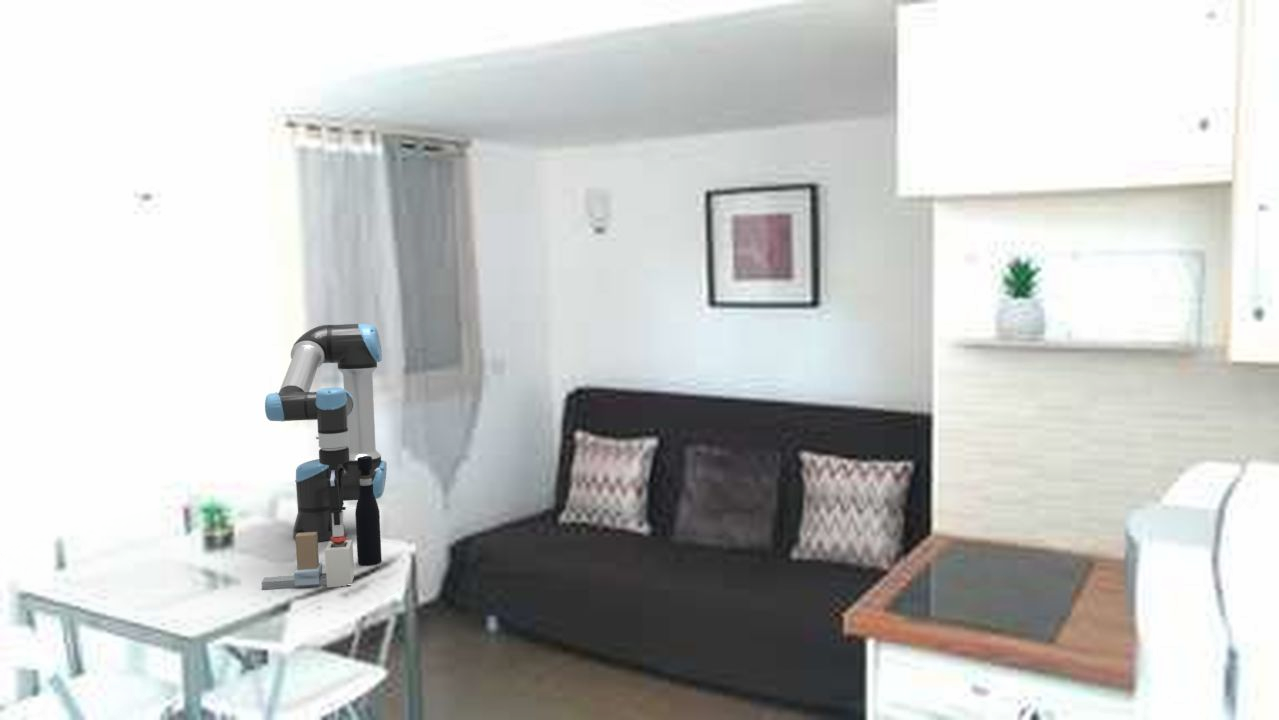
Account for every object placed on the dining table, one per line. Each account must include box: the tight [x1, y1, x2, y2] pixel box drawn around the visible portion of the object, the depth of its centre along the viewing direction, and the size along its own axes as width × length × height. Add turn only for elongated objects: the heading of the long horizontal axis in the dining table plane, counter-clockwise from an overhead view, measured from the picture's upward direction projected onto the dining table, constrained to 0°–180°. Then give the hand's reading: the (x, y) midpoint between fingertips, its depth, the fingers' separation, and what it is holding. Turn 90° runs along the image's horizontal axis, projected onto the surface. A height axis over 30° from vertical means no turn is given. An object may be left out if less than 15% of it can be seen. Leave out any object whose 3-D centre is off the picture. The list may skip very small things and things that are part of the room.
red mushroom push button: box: [330, 534, 348, 547], centre depth 259 cm, size 4×4×7 cm
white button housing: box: [324, 539, 355, 589], centre depth 259 cm, size 8×6×10 cm
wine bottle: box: [354, 456, 383, 567], centre depth 274 cm, size 6×6×30 cm
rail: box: [261, 572, 327, 590], centre depth 258 cm, size 4×16×2 cm, turn 100°
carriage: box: [293, 532, 324, 586], centre depth 258 cm, size 7×6×12 cm
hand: (338, 535), depth 258 cm, fingers closed
